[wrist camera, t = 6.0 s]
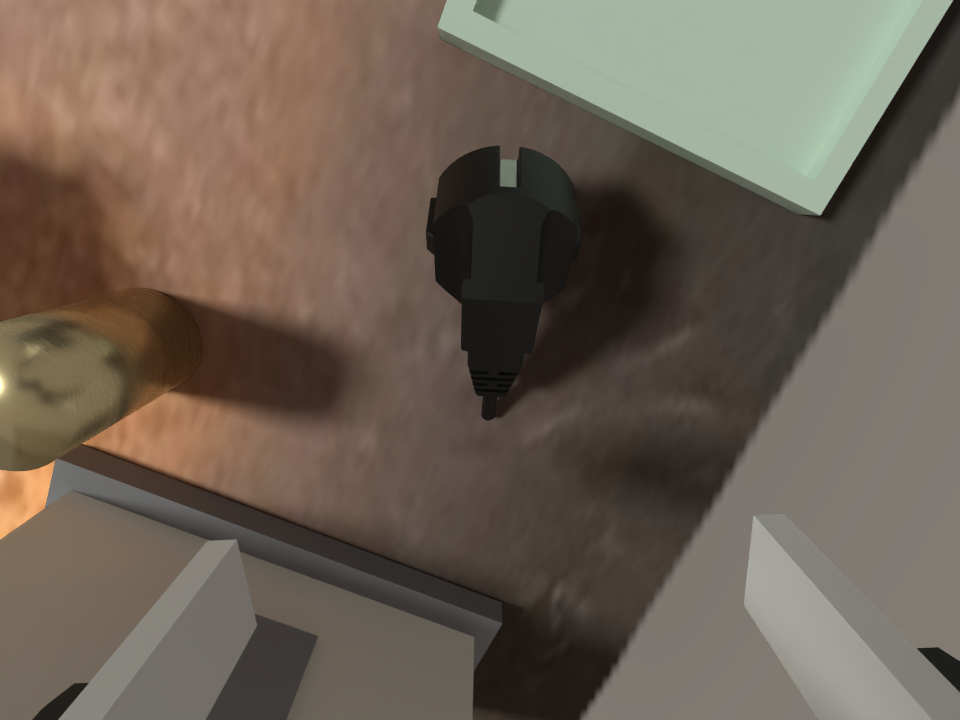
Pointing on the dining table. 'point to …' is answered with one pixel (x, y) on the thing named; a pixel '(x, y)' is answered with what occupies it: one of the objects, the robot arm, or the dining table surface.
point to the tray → (717, 75)
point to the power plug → (502, 255)
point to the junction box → (274, 595)
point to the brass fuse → (87, 370)
